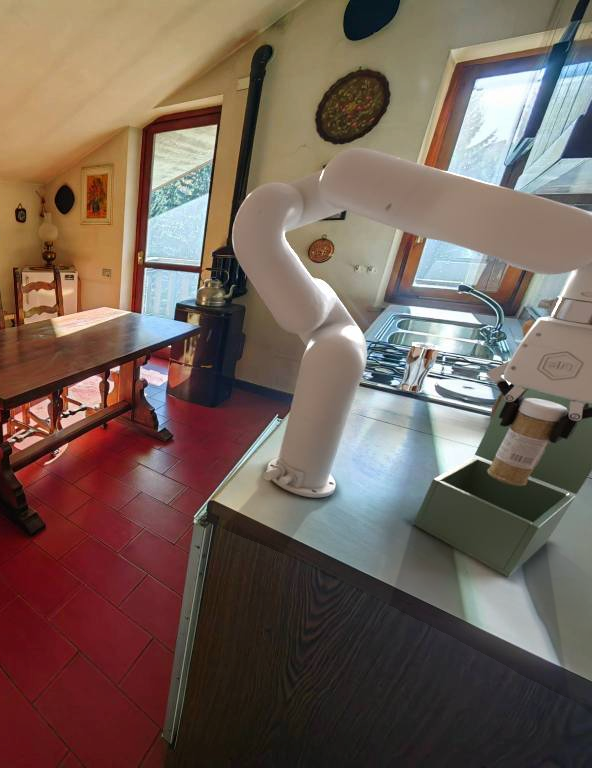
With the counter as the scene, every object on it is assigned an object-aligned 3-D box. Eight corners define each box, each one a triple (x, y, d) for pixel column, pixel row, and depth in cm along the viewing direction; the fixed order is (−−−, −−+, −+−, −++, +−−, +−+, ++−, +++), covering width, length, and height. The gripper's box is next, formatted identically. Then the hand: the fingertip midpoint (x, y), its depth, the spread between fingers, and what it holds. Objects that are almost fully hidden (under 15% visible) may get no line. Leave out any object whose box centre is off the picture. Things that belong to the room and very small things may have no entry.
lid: (635, 401, 55) (645, 394, 58) (513, 372, 66) (526, 367, 68) (576, 494, 62) (587, 484, 64) (474, 454, 72) (487, 447, 74)
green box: (508, 577, 59) (538, 527, 55) (412, 524, 69) (432, 478, 66) (546, 542, 66) (575, 496, 62) (453, 498, 76) (474, 456, 72)
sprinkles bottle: (528, 481, 62) (571, 405, 57) (521, 490, 60) (565, 413, 55) (489, 466, 66) (527, 394, 60) (481, 475, 63) (519, 401, 58)
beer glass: (390, 386, 129) (406, 343, 123) (405, 384, 131) (421, 341, 125) (412, 395, 122) (430, 349, 117) (428, 392, 124) (446, 348, 119)
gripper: (497, 304, 58) (449, 414, 65) (698, 332, 44) (609, 467, 51) (517, 300, 61) (470, 405, 68) (710, 325, 47) (625, 454, 54)
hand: (530, 431), depth 59 cm, fingers closed on sprinkles bottle, 4 cm apart
